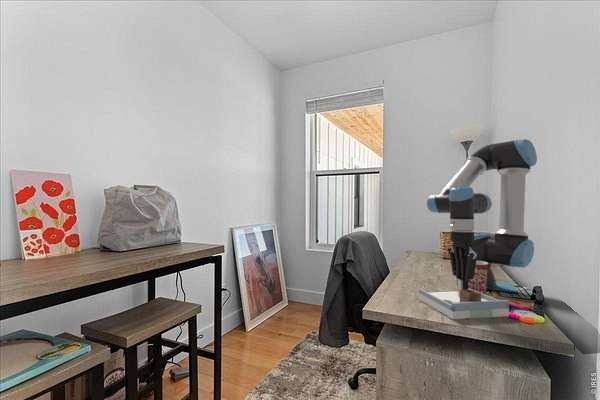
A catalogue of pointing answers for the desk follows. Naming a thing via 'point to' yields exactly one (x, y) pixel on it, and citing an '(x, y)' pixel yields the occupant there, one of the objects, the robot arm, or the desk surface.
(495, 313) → the tray
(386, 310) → the desk surface
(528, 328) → the desk surface
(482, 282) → the mug
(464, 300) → the walnut cube
